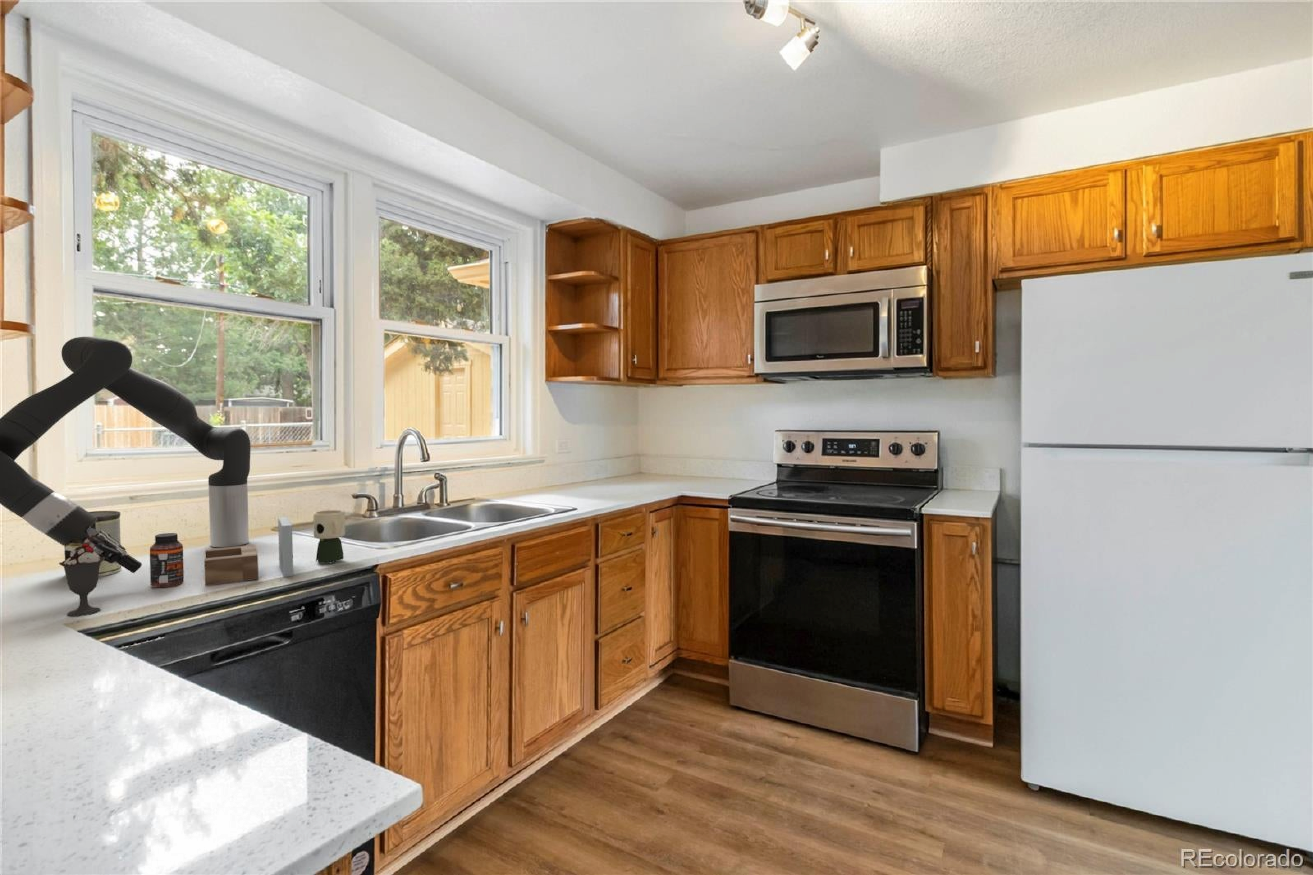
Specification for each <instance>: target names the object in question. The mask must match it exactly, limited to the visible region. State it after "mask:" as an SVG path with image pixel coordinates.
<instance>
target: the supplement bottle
mask: <svg viewBox="0 0 1313 875" xmlns="http://www.w3.org/2000/svg"><path fill="white" fill-rule="evenodd" d="M178 539H179V538H178V533H177V532H176V533H175V532H165V533H158V534H156V535H155V536H154V541H155V542H154V543H153V545H151V546H150V547H149V569H150V570H149V573H150V574H149V575H150V576H149V577H150V578H149V579H150V582H149V583H150V586H151V587H154V588H170V587H174V586H178V585H181V584H182V583H183V582H184V578H185V577H184V576H185V575H184V574H185V570H184V545H183V544H182V543H181V542H180V541H179V540H178Z"/></svg>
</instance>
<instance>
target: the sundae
mask: <svg viewBox="0 0 1313 875" xmlns="http://www.w3.org/2000/svg"><path fill="white" fill-rule="evenodd" d="M91 537H93V538H94V537H95V536H94V535H91ZM91 537H90V538H91ZM90 538H89V539H90ZM89 539H88V540H89ZM91 539H92V538H91ZM91 539H90V540H91ZM88 540H87V542H88ZM90 540H89V542H90ZM87 542H86V543H84V544H82V546H80V547H77V548H75V549H74V550H72V551H68V550H65V549H64V552H63V553H64V560H63V561H62V562H59V563H58V564H59V565H60V566H62V567H63V568H64V573H66V577H65V578H66V583H67V586H68V589H69V591H71V593H73V594H75V595H78V596H79V605H78V607H77V608H76V609H73V610H72V611H71V610H70V611H69V612H67V614H66V616H68V617H82V616H81V615H84V616H88V615H87V614H89V615H93V614H96V613H98V611H99V612H100V611H101V610H102V608H100V607H94V606H91V605H90V604H89V601H88V595H89V594H90V593H91V592H93V591H94V590H95V588H96V587H97V586H98V582H99V577H98V576H99V568H100V564H101V562H102V561H103V560H104V559H105V557H99V555H98V554H97V553H96V552H94V551H93V550H94V548H93V547H91V546H90V545H89V542H88V543H87Z"/></svg>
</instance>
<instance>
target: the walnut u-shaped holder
mask: <svg viewBox="0 0 1313 875" xmlns="http://www.w3.org/2000/svg"><path fill="white" fill-rule="evenodd" d="M204 553H205V558H204V559H203V560H204V585H205V586H211V585H218V584H219V585H220V584H229V583H235V582H243V581H253V580H258V579H259V557H258V556H259V555H258V550H257V546H256V544H249V545H248V544H247V545H246V544H245V545H238V546H231V547H214V548H208V549H205V552H204Z"/></svg>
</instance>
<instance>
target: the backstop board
mask: <svg viewBox="0 0 1313 875" xmlns="http://www.w3.org/2000/svg"><path fill="white" fill-rule="evenodd" d="M277 524H278V560H279V562H278V563H279V564H278V565H279V569H280V571H281V574H282V577H283V578H284V577H285V578H286V577H293V576H294V555H293V554H294V549H293V548H294V547H293V546H294V544H293V542H294V541H293V524H292V522H291V521H290V519H289V518H288V516H283V517H282V516H281V517H278V518H277Z"/></svg>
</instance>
